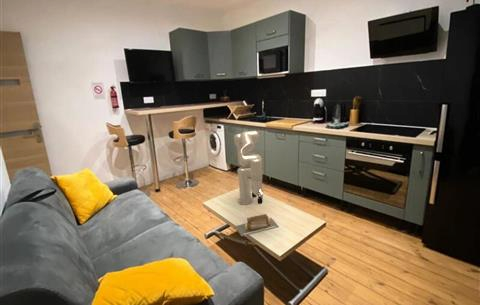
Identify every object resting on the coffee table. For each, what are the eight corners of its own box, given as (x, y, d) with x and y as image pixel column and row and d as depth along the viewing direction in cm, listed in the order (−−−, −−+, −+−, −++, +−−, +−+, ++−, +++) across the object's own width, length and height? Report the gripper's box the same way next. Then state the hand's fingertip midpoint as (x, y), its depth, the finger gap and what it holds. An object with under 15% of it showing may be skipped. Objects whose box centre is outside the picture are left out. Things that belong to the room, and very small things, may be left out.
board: (235, 227, 169) (234, 219, 168) (271, 219, 178) (271, 211, 176) (241, 238, 157) (241, 229, 156) (279, 228, 166) (279, 220, 164)
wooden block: (247, 228, 166) (247, 218, 164) (265, 223, 170) (265, 213, 168) (249, 231, 162) (249, 221, 160) (268, 226, 166) (268, 216, 164)
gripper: (246, 173, 162) (247, 196, 167) (256, 182, 146) (256, 207, 151) (256, 171, 164) (257, 194, 169) (267, 180, 149) (267, 205, 153)
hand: (257, 200), depth 160 cm, fingers open, 9 cm apart
